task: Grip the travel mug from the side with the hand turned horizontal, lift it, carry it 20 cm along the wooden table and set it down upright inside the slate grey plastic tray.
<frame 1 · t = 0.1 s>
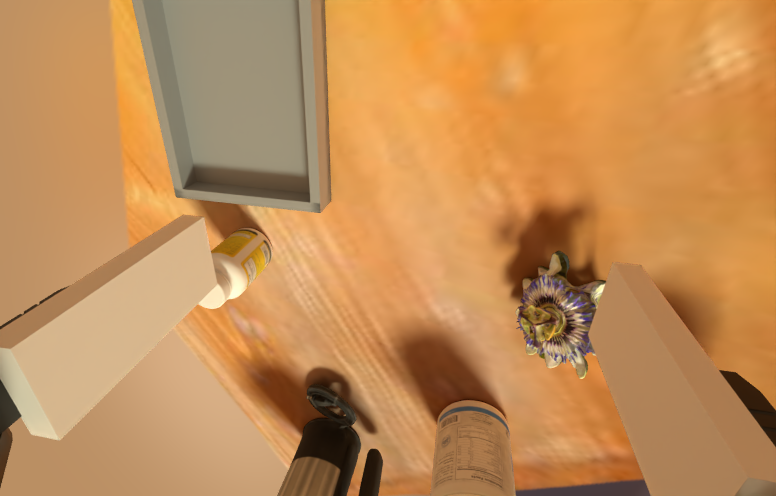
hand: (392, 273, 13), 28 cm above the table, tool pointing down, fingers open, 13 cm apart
supplement bottle: (253, 246, 48), on the table
passion flower: (565, 293, 44), on the table
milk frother: (332, 419, 60), on the table
supplement tub: (472, 420, 55), on the table
tray: (250, 98, 40), on the table
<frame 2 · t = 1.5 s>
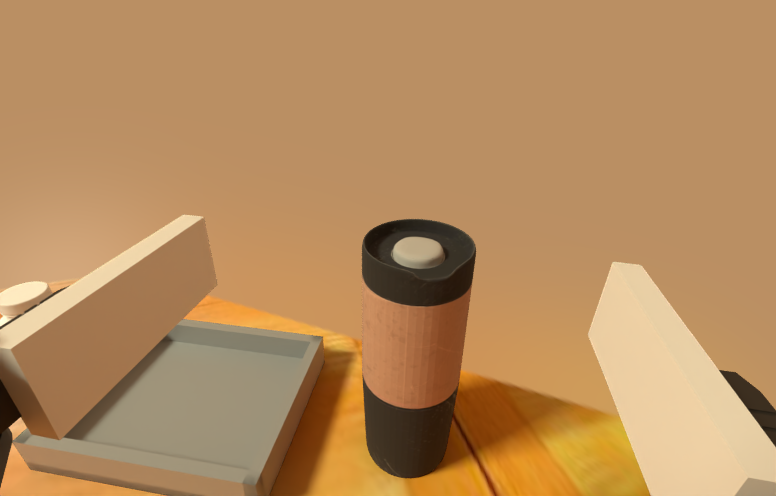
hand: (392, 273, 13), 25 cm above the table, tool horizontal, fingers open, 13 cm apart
supplement bottle: (61, 370, 43), on the table
travel mug: (406, 441, 36), on the table
tray: (199, 407, 39), on the table
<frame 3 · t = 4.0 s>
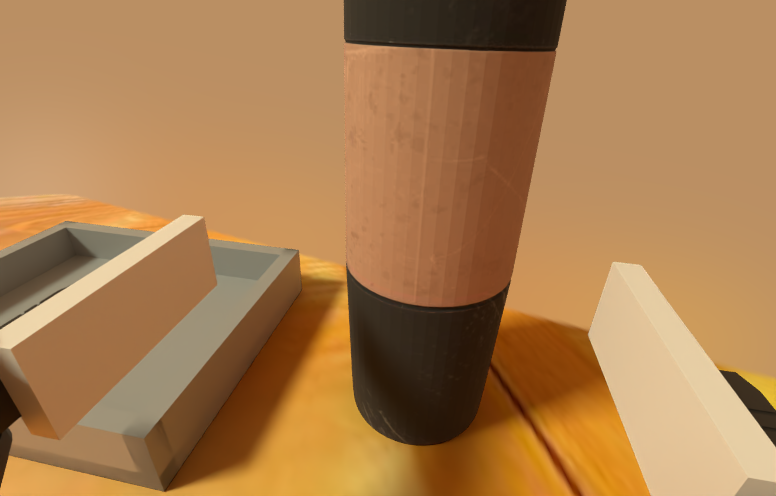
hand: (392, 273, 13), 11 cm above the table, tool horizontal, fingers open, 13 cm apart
travel mug: (415, 392, 23), on the table
tray: (108, 336, 26), on the table
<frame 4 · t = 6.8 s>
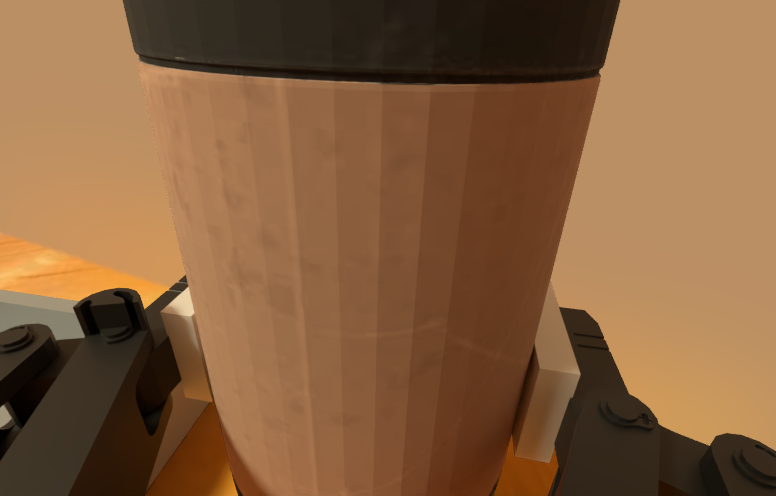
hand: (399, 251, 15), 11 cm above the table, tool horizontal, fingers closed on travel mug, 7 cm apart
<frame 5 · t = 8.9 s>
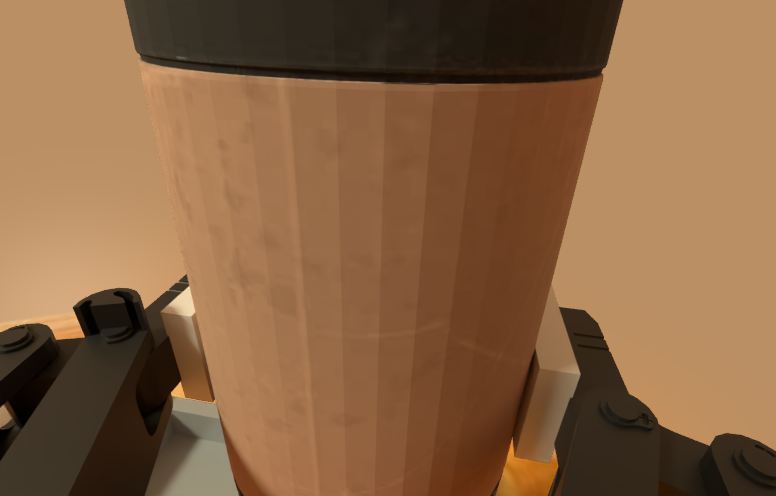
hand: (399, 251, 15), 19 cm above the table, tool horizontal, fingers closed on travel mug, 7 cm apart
when the fingers open (13 cm above the table, at t = 11.1 s): travel mug stays where it is, resting on tray.
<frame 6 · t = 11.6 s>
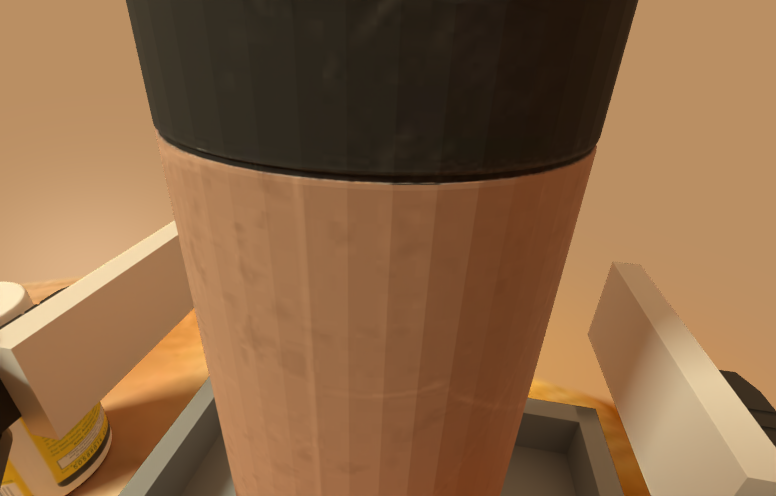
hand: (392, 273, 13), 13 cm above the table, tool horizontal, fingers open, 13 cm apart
supplement bottle: (54, 464, 21), on the table
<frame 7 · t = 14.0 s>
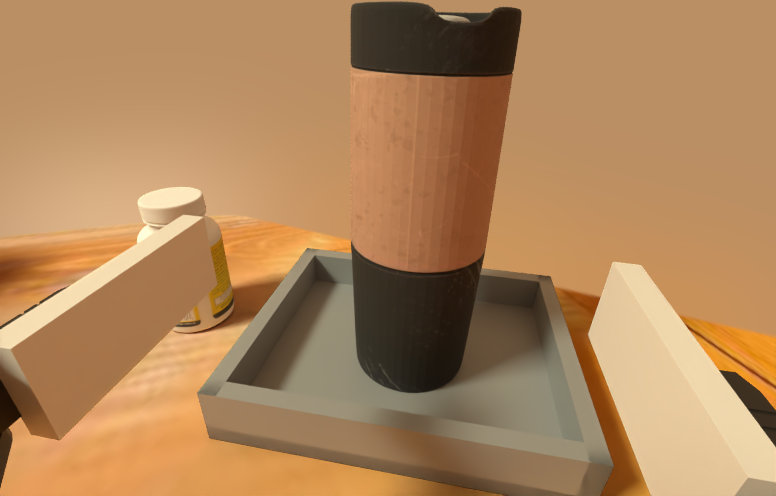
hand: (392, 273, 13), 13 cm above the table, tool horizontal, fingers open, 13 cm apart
supplement bottle: (199, 314, 32), on the table
travel mug: (408, 354, 27), point 1 cm above the table, touching tray
tray: (408, 362, 28), on the table
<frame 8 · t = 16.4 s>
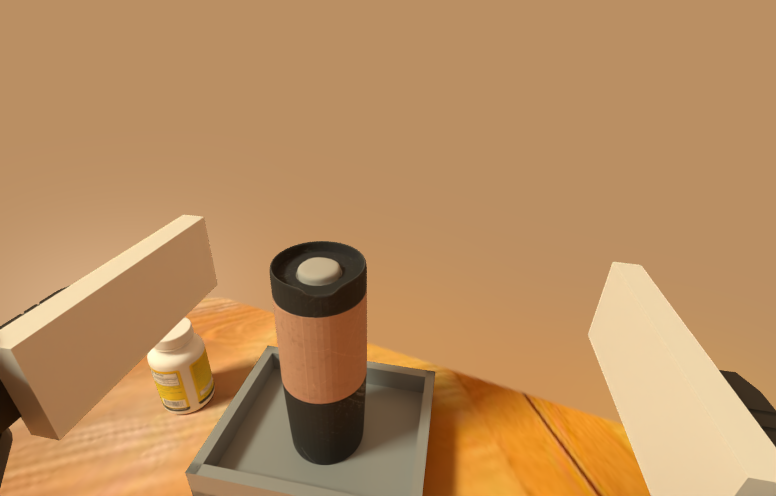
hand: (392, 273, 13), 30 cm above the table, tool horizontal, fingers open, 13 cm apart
supplement bottle: (190, 397, 46), on the table
travel mug: (328, 433, 41), point 1 cm above the table, touching tray
tray: (329, 438, 41), on the table
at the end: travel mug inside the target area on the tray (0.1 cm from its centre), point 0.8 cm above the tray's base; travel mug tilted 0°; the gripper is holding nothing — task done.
